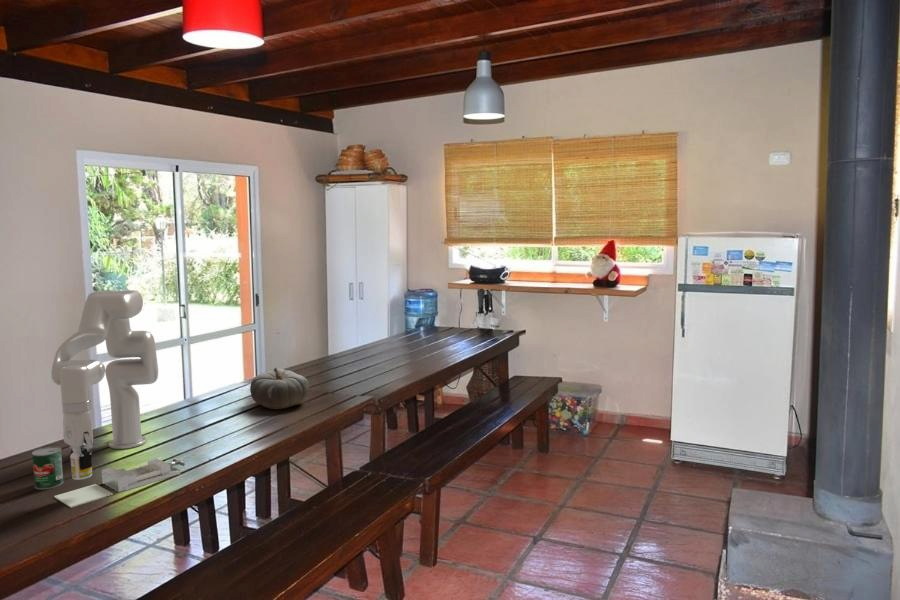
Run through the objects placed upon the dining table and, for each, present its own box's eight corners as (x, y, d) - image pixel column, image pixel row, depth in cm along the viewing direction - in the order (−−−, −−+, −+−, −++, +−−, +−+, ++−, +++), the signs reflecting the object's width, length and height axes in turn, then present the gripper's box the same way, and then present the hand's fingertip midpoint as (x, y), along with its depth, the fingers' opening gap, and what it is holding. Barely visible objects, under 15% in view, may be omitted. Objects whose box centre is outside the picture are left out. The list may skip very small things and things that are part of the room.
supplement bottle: (95, 473, 208) (93, 442, 207) (87, 479, 203) (84, 448, 202) (77, 473, 208) (75, 442, 207) (68, 480, 203) (66, 448, 202)
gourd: (277, 389, 323) (278, 354, 318) (320, 403, 313) (321, 368, 308) (239, 407, 301) (239, 371, 296) (284, 423, 291) (285, 386, 286)
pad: (54, 497, 206) (54, 496, 206) (95, 485, 215) (95, 483, 215) (70, 507, 198) (70, 506, 198) (113, 494, 207) (113, 493, 207)
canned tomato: (32, 491, 211) (29, 456, 209) (36, 482, 218) (33, 448, 216) (62, 487, 214) (59, 452, 212) (65, 478, 221) (62, 445, 220)
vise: (102, 483, 216) (101, 469, 216) (171, 463, 234) (170, 450, 233) (119, 492, 209) (118, 478, 208) (189, 471, 226) (188, 457, 226)
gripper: (51, 404, 206) (56, 463, 208) (75, 414, 195) (80, 476, 197) (78, 399, 212) (82, 456, 214) (102, 409, 201) (107, 469, 203)
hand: (81, 465), depth 205 cm, fingers closed on supplement bottle, 5 cm apart
